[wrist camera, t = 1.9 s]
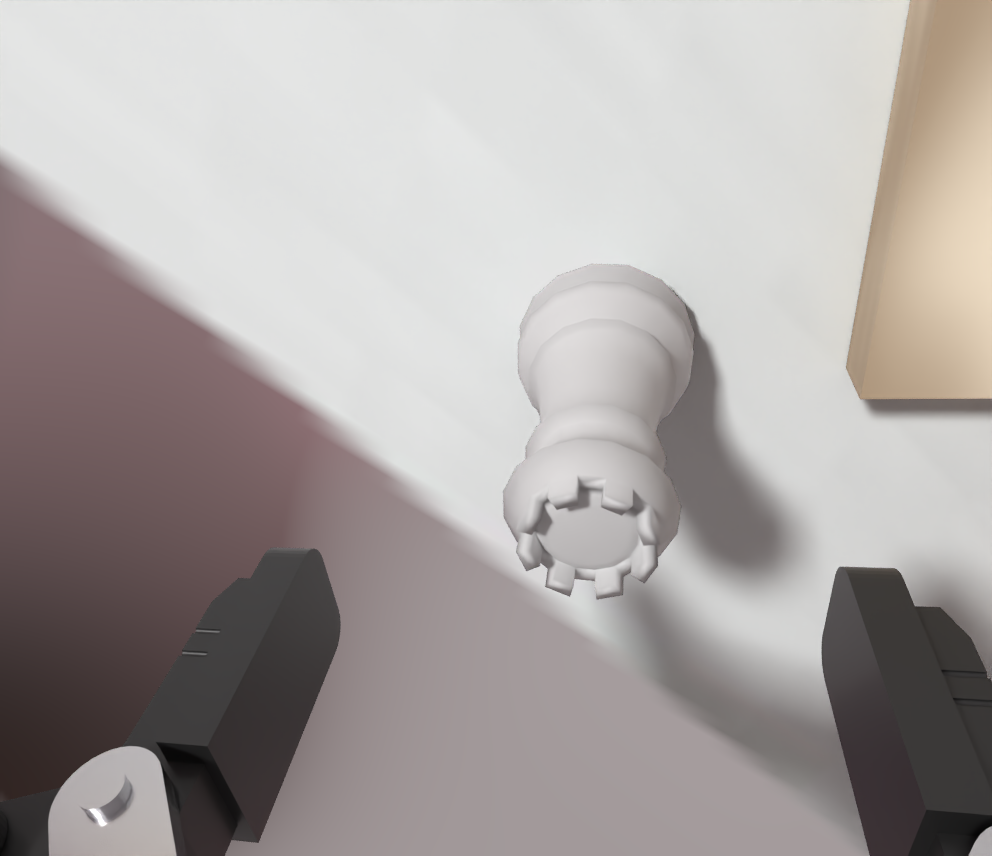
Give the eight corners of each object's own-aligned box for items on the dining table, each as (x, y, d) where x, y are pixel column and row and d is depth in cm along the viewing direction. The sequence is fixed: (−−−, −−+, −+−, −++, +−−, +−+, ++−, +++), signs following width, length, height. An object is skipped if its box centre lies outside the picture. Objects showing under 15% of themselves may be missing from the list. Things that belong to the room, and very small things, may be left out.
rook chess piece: (731, 321, 19) (779, 539, 12) (620, 436, 21) (610, 667, 15) (588, 219, 18) (555, 393, 11) (489, 350, 20) (415, 556, 14)
